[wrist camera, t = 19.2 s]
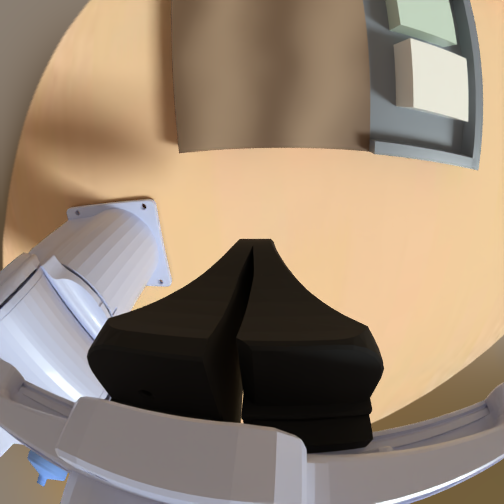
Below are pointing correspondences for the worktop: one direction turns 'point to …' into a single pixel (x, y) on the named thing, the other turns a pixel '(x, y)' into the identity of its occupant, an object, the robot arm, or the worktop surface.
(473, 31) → the slate tray
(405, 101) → the cream tile
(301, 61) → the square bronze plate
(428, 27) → the sage tile
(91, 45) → the worktop surface
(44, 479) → the water jug
